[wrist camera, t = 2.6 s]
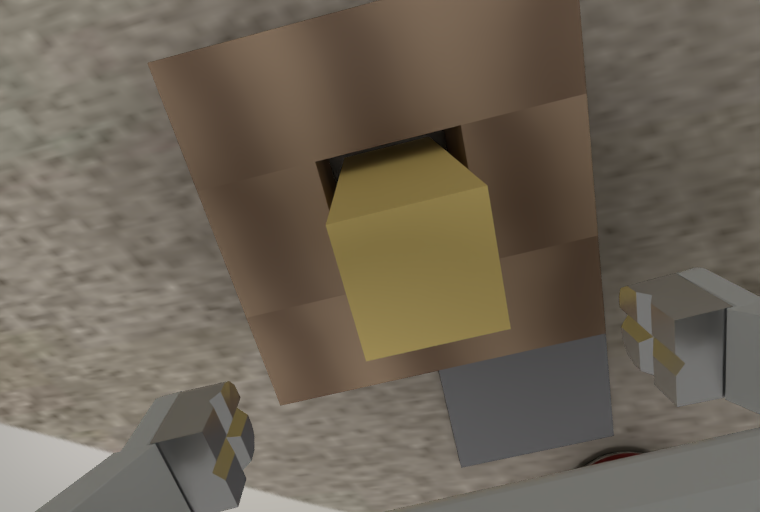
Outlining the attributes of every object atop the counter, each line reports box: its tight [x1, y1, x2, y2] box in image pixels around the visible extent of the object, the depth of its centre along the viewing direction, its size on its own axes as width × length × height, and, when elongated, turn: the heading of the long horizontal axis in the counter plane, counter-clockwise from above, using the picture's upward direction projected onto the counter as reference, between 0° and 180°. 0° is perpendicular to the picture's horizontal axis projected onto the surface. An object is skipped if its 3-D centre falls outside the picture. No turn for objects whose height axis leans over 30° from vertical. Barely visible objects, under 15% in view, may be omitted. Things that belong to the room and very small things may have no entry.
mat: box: [439, 333, 614, 468], centre depth 29 cm, size 10×10×1 cm
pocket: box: [148, 0, 606, 405], centre depth 22 cm, size 16×16×5 cm
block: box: [326, 137, 511, 361], centre depth 19 cm, size 4×4×12 cm
